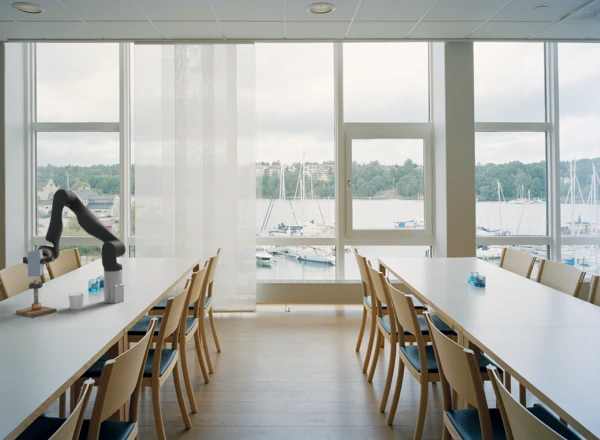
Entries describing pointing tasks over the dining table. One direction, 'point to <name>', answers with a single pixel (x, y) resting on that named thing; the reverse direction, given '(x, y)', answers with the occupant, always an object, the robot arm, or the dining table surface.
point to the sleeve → (35, 263)
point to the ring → (35, 285)
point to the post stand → (36, 307)
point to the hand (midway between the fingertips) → (34, 261)
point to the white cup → (76, 300)
